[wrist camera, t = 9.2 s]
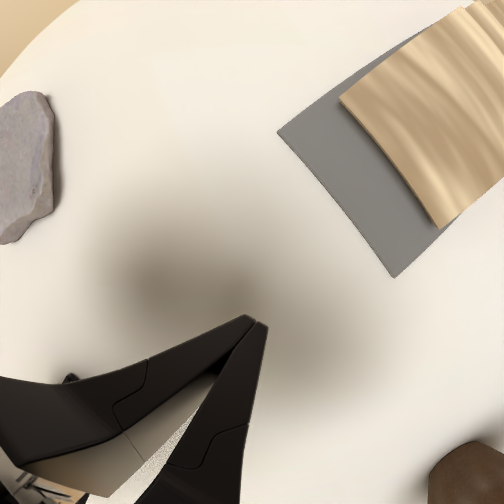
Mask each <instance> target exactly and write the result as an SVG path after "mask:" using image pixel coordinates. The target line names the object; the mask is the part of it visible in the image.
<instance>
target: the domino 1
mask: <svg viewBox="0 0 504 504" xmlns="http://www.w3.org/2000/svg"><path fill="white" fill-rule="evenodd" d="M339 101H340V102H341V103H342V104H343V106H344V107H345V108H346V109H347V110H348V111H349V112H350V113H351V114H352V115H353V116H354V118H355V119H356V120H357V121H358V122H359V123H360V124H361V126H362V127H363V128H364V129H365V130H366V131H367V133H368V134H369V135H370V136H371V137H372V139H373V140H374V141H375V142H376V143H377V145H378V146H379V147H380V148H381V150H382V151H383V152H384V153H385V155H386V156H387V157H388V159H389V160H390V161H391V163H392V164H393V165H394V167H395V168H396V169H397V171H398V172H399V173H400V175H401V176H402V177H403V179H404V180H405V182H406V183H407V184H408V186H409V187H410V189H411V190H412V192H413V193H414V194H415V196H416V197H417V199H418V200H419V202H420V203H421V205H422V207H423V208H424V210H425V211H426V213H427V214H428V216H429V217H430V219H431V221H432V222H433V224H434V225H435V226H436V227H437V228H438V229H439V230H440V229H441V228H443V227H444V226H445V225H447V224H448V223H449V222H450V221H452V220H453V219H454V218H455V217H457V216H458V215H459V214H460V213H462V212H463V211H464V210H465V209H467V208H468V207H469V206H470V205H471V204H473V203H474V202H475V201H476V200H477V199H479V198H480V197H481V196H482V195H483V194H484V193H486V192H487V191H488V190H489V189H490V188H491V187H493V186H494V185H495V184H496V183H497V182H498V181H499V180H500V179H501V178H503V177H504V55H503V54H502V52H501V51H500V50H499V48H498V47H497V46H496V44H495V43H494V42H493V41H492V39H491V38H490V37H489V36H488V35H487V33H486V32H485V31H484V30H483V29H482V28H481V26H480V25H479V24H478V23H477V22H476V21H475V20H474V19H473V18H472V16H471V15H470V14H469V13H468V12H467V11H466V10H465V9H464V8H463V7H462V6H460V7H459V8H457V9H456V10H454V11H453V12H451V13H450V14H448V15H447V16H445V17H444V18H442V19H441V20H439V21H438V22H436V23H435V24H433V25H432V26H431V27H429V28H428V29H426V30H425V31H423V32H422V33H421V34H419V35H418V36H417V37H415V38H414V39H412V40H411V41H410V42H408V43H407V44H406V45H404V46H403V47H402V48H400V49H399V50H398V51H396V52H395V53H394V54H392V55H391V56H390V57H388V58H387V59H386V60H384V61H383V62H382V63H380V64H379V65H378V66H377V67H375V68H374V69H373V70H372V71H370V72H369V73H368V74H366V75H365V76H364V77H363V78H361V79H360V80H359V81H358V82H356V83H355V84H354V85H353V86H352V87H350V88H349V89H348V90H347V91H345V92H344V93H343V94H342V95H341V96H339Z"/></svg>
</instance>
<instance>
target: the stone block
mask: <svg viewBox="0 0 504 504" xmlns="http://www.w3.org/2000/svg"><path fill="white" fill-rule="evenodd" d="M53 127H54V114H53V112H52V111H51V109H50V107H49V105H48V103H47V101H46V98H45V96H44V95H43V94H42V93H41V92H37V91H27V92H23V93H21V94H19V95H17V96H15V97H14V98H13V99H11V100H10V101H9V102H7V103H6V104H5V105H3V106H2V107H1V108H0V244H2V245H5V244H8V243H11V242H15V241H17V240H18V239H19V238H20V237H21V236H22V234H24V233H25V231H26V230H27V229H28V228H29V226H30V225H31V223H32V222H33V221H34V220H36V219H39V218H43V217H45V216H46V215H47V214H50V213H51V212H52V211H53V203H54V196H53V172H52V161H53V153H54V147H53V139H54V131H53Z"/></svg>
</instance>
